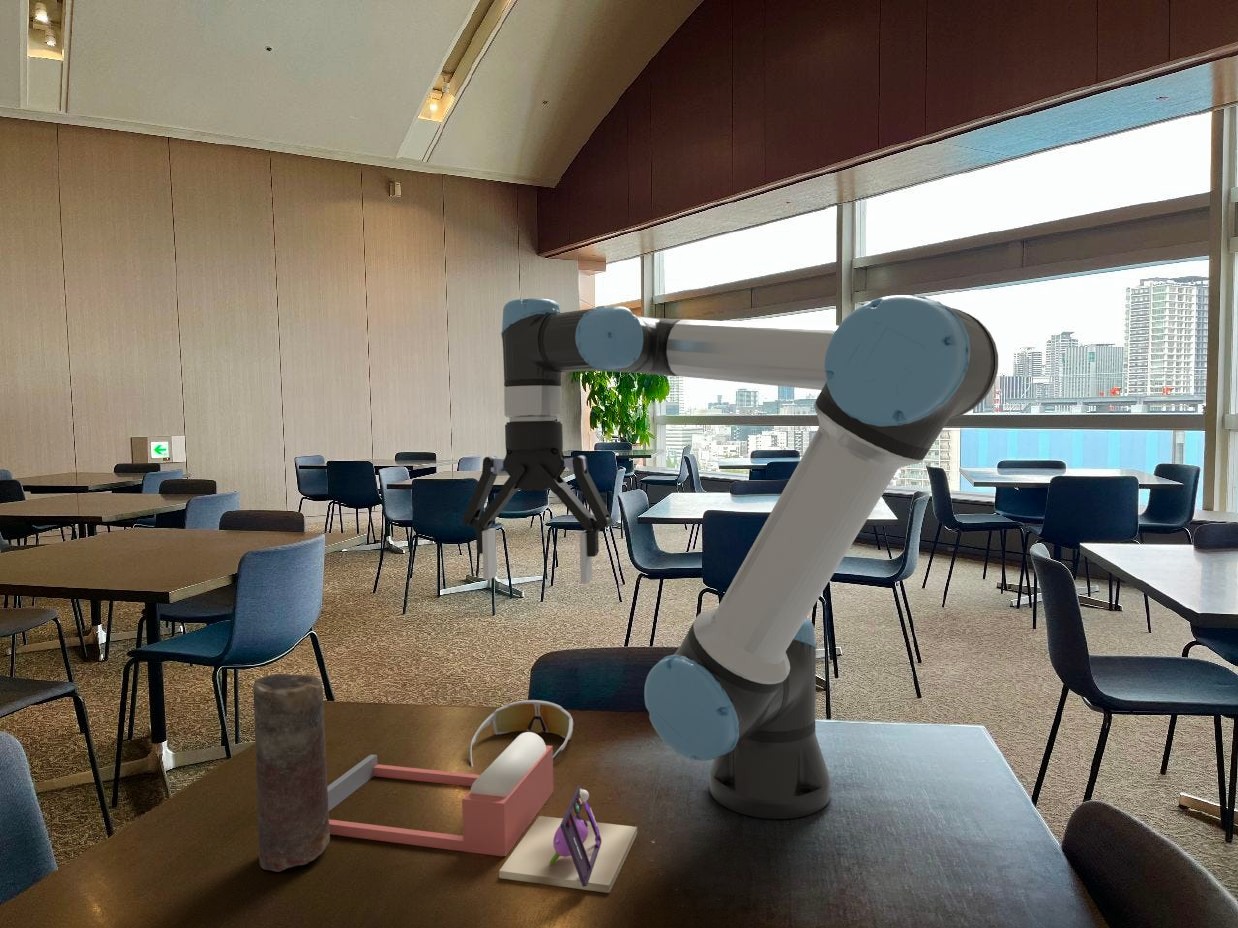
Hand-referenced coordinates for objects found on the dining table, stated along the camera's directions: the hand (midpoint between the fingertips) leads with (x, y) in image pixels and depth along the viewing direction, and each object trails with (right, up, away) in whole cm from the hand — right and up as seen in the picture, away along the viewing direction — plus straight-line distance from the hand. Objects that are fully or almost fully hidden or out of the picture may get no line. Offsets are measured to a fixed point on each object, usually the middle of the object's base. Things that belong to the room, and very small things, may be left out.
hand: (537, 579), depth 108 cm
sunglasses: (-3, -27, +11) cm, 29 cm away
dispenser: (-12, -27, -7) cm, 31 cm away
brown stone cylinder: (-25, -28, -17) cm, 42 cm away
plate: (+6, -28, -18) cm, 34 cm away
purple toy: (+6, -27, -21) cm, 35 cm away
